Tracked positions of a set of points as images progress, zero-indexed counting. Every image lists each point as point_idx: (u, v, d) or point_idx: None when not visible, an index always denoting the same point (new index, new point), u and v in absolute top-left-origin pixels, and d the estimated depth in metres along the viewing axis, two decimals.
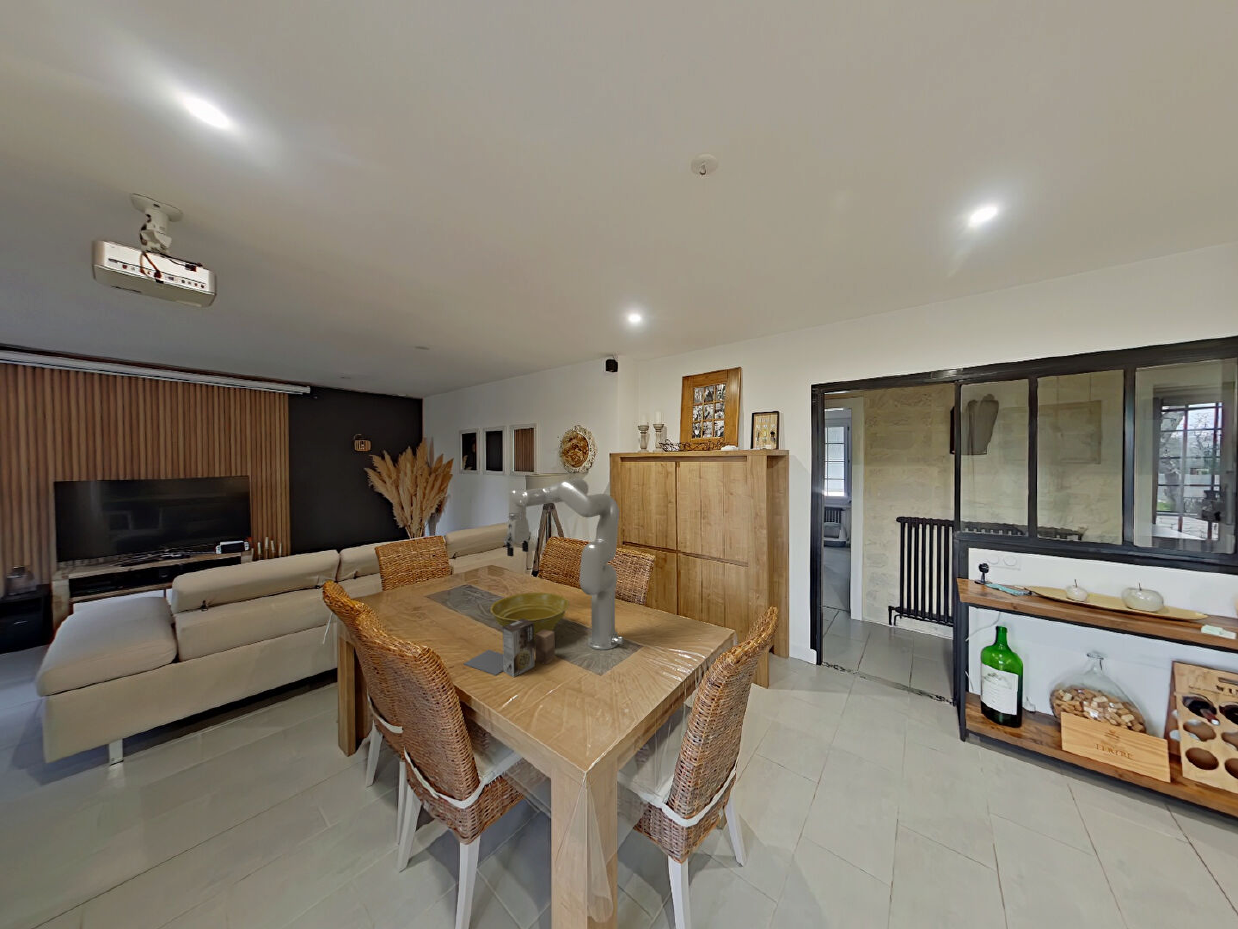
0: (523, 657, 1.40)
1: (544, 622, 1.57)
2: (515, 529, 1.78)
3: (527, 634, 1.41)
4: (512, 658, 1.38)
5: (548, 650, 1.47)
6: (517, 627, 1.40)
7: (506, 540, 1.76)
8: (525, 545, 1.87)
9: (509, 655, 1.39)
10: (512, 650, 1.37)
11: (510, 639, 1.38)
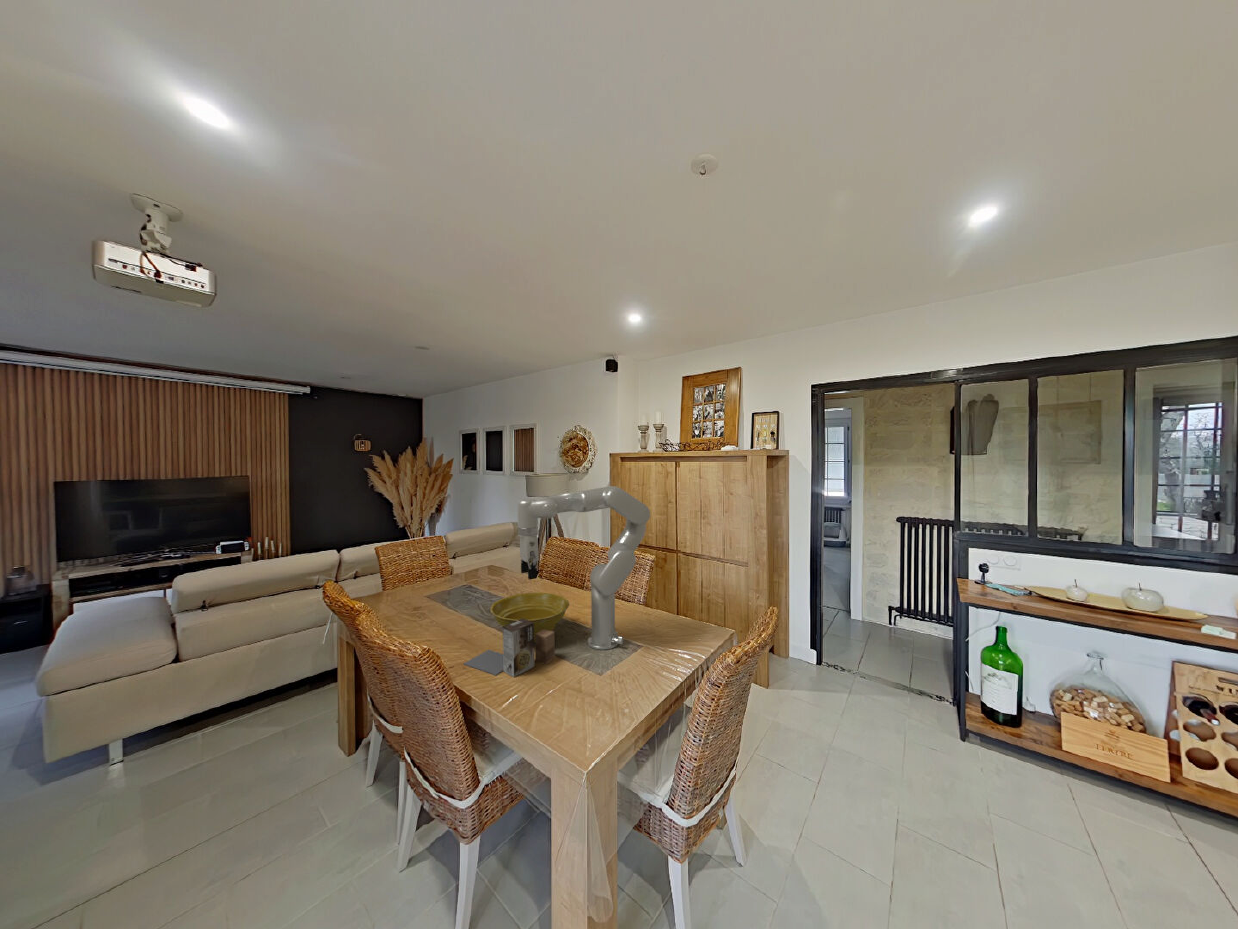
0: (523, 657, 1.40)
1: (544, 622, 1.57)
2: (537, 546, 1.53)
3: (527, 634, 1.42)
4: (512, 658, 1.38)
5: (548, 650, 1.47)
6: (517, 627, 1.40)
7: None
8: (526, 565, 1.60)
9: (509, 655, 1.39)
10: (512, 650, 1.37)
11: (511, 639, 1.38)
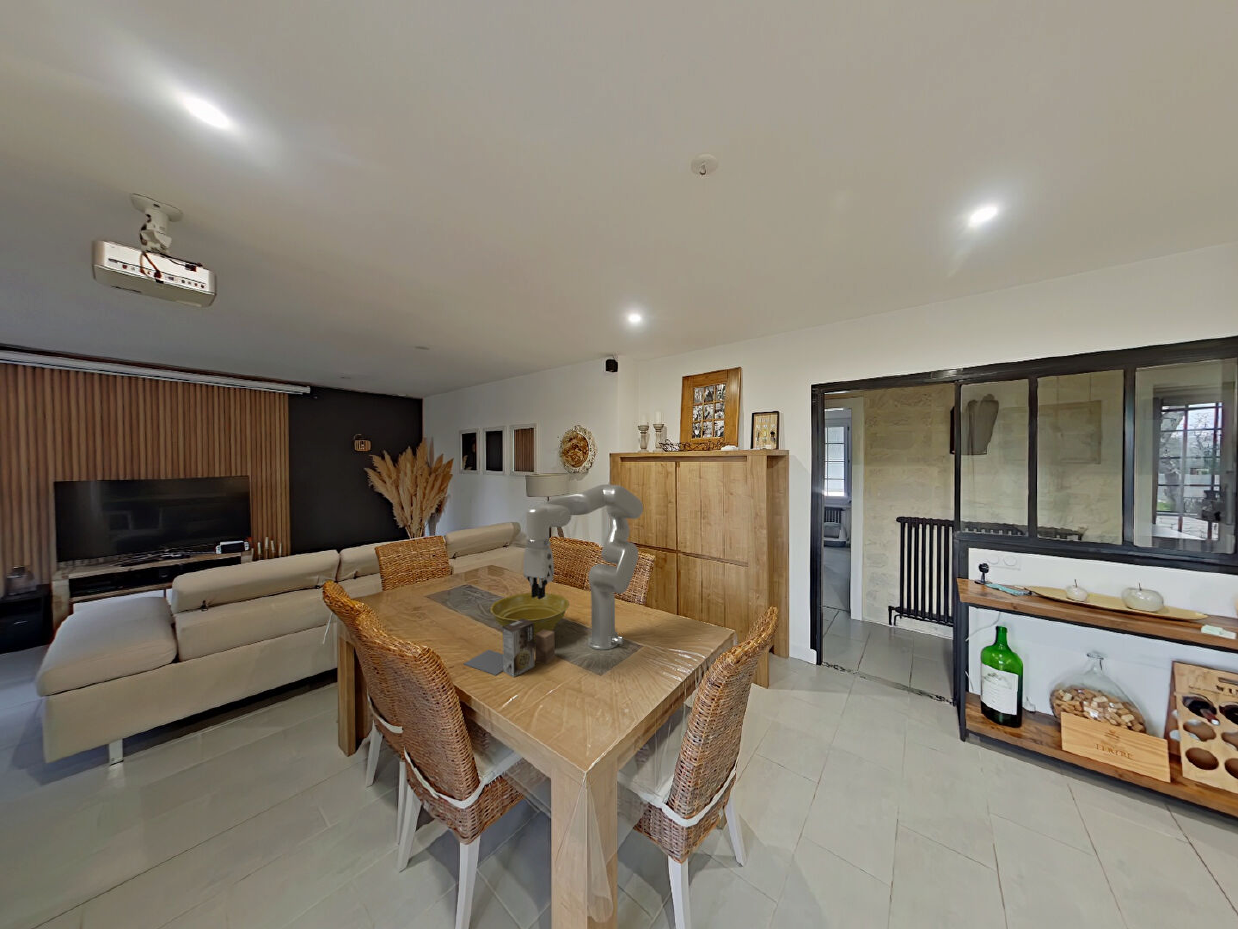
0: (523, 657, 1.40)
1: (544, 622, 1.57)
2: None
3: (527, 634, 1.42)
4: (512, 658, 1.38)
5: (547, 650, 1.47)
6: (517, 627, 1.40)
7: None
8: (537, 587, 1.39)
9: (509, 655, 1.39)
10: (512, 650, 1.37)
11: (510, 639, 1.38)
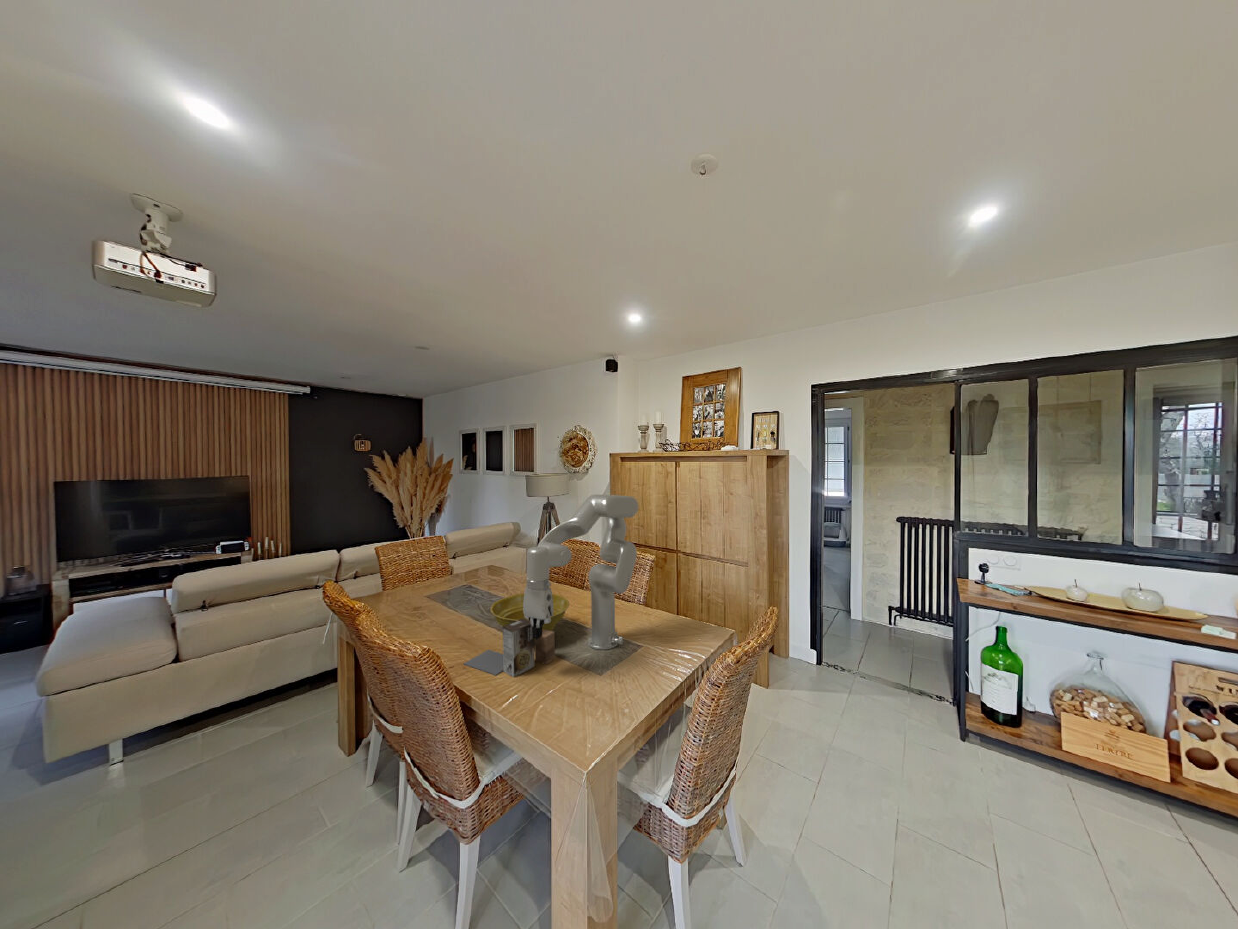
0: (523, 657, 1.40)
1: None
2: None
3: (527, 634, 1.42)
4: (512, 658, 1.38)
5: (548, 650, 1.47)
6: (517, 627, 1.40)
7: None
8: None
9: (509, 655, 1.39)
10: (512, 650, 1.37)
11: (510, 639, 1.38)
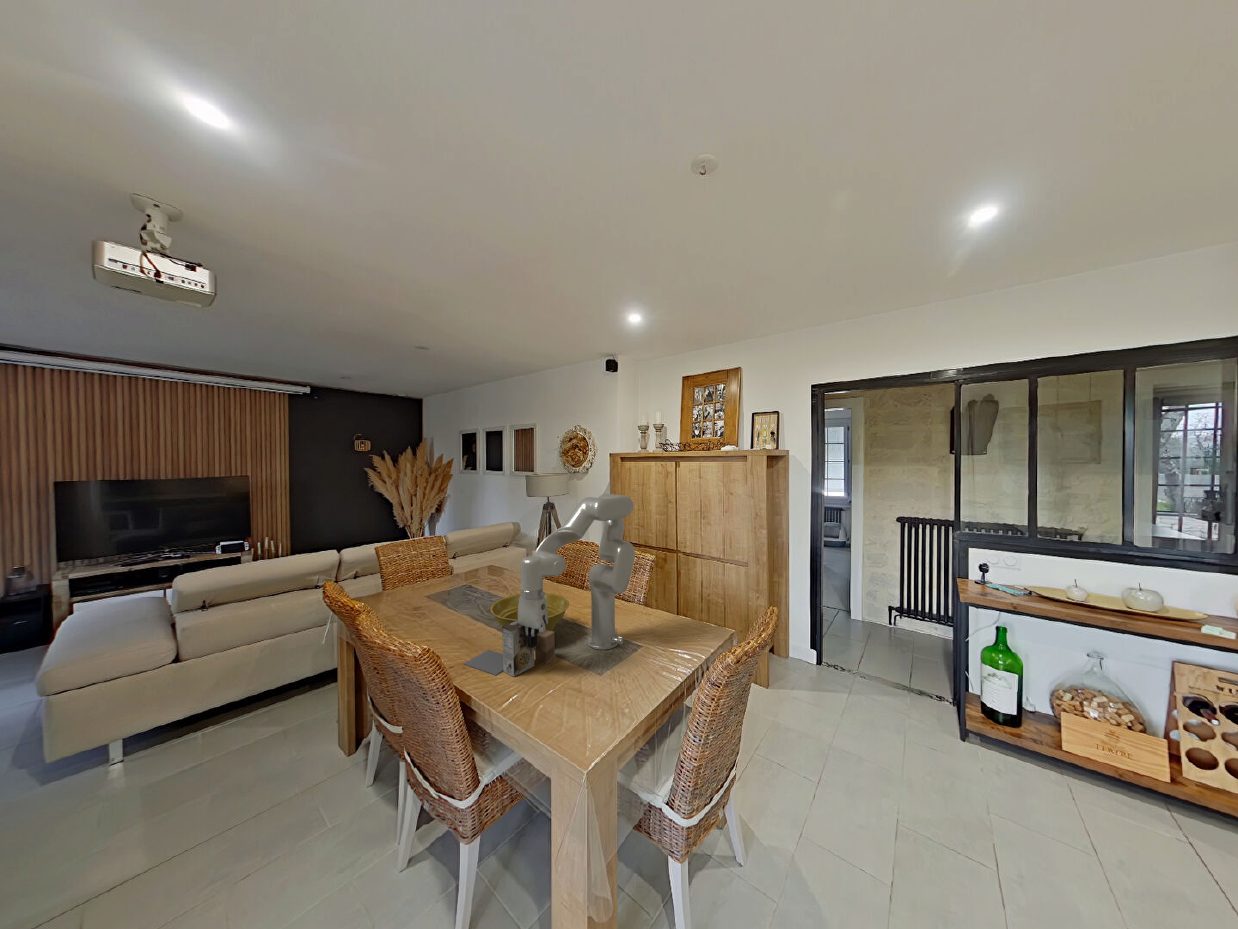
0: (523, 657, 1.40)
1: None
2: None
3: None
4: (511, 657, 1.38)
5: (548, 650, 1.47)
6: (516, 626, 1.40)
7: None
8: None
9: (508, 654, 1.39)
10: (512, 649, 1.38)
11: (510, 639, 1.38)
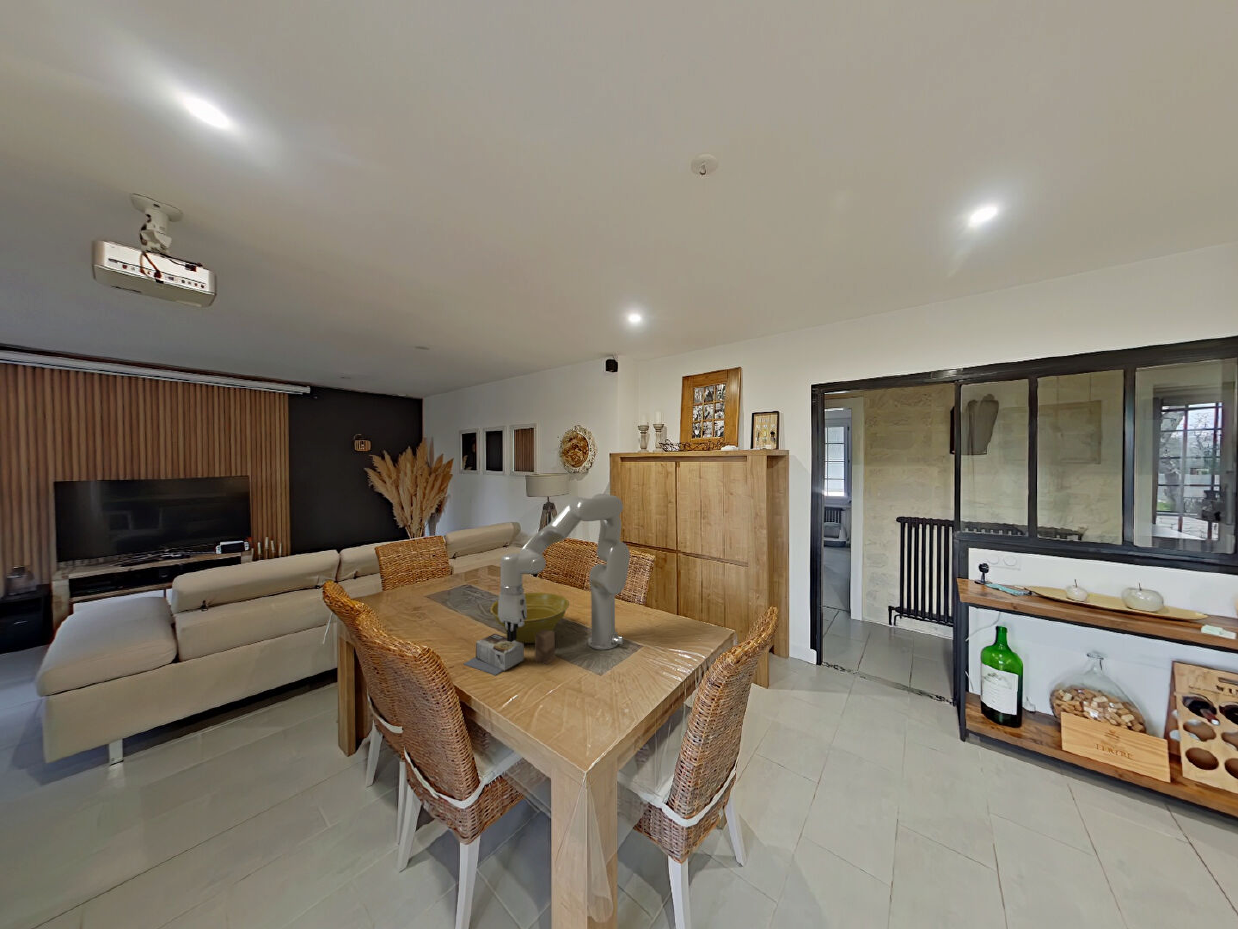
0: (503, 644, 1.47)
1: (544, 622, 1.56)
2: None
3: (494, 637, 1.52)
4: (492, 651, 1.44)
5: (548, 650, 1.47)
6: None
7: None
8: None
9: (491, 655, 1.44)
10: (487, 648, 1.45)
11: (481, 647, 1.47)
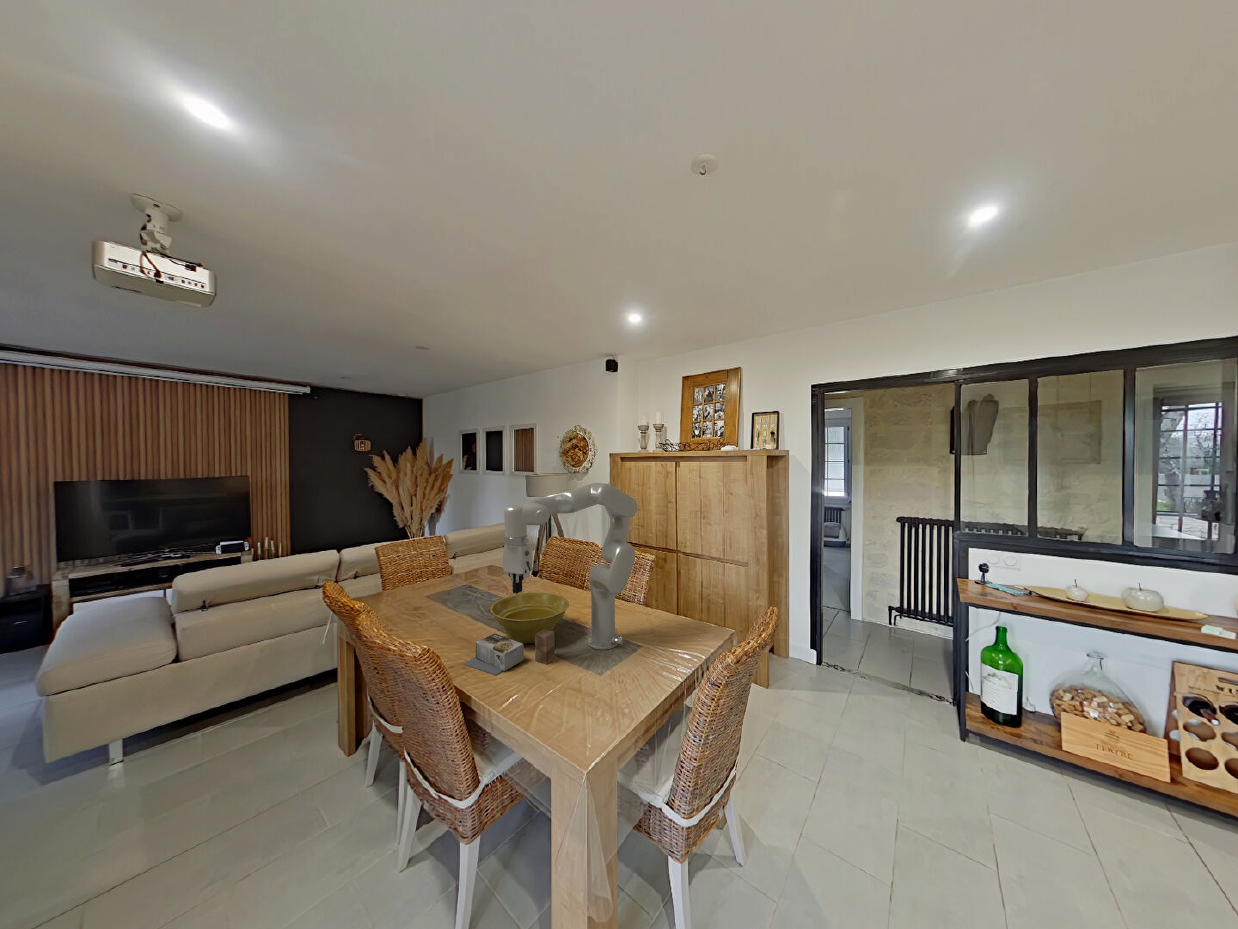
0: (503, 645, 1.46)
1: (544, 622, 1.56)
2: None
3: (494, 637, 1.52)
4: (492, 651, 1.44)
5: (548, 650, 1.47)
6: None
7: None
8: None
9: (491, 655, 1.44)
10: (487, 648, 1.45)
11: (481, 648, 1.47)
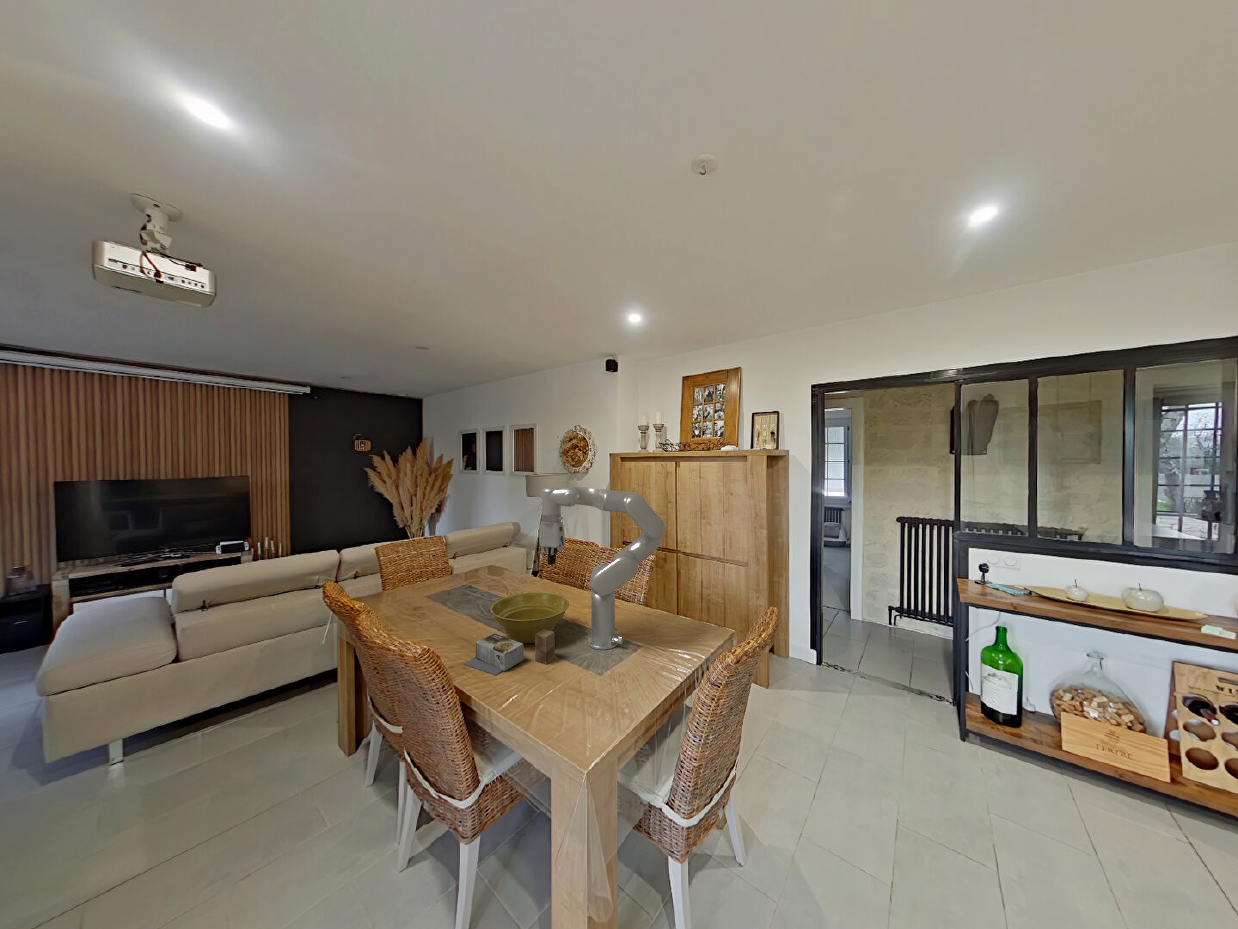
0: (503, 645, 1.46)
1: (544, 622, 1.56)
2: None
3: (494, 637, 1.52)
4: (492, 651, 1.44)
5: (547, 650, 1.47)
6: None
7: None
8: None
9: (491, 655, 1.44)
10: (487, 648, 1.45)
11: (481, 648, 1.47)
